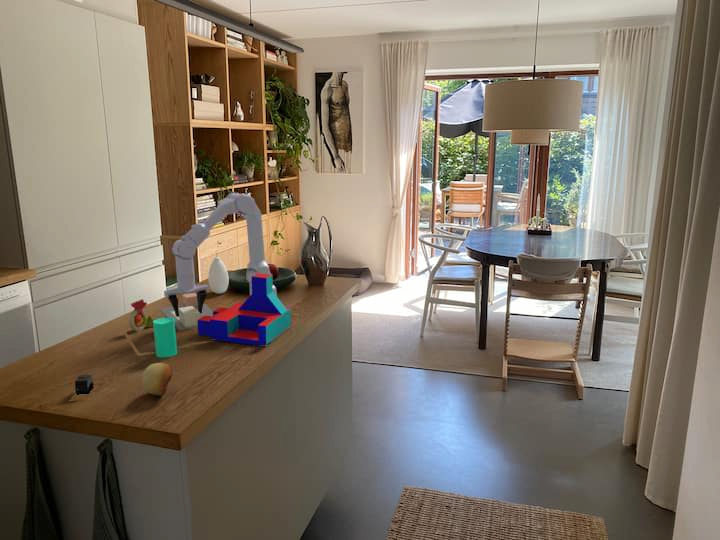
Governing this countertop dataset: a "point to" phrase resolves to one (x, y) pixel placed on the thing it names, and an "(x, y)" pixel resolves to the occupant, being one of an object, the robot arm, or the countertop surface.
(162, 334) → the candle
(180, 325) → the baseplate
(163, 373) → the fruit
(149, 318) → the bird rattle
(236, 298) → the countertop surface
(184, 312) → the cream brick
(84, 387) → the black block
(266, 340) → the building blocks toy
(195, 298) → the terracotta brick
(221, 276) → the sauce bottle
